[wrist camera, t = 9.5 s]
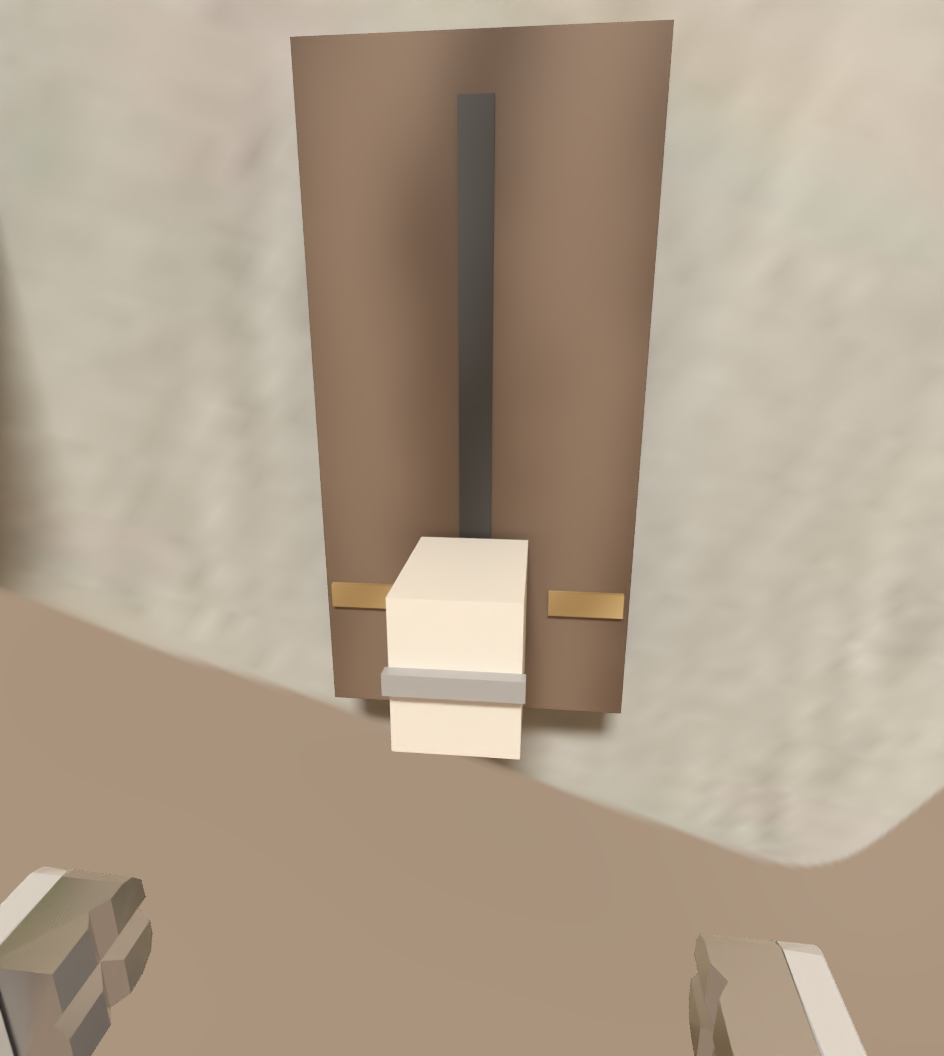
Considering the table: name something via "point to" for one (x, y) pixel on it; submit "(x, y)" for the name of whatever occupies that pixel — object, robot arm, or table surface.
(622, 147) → the brown slider board
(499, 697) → the fader tab
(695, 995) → the robot arm
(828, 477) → the table surface
